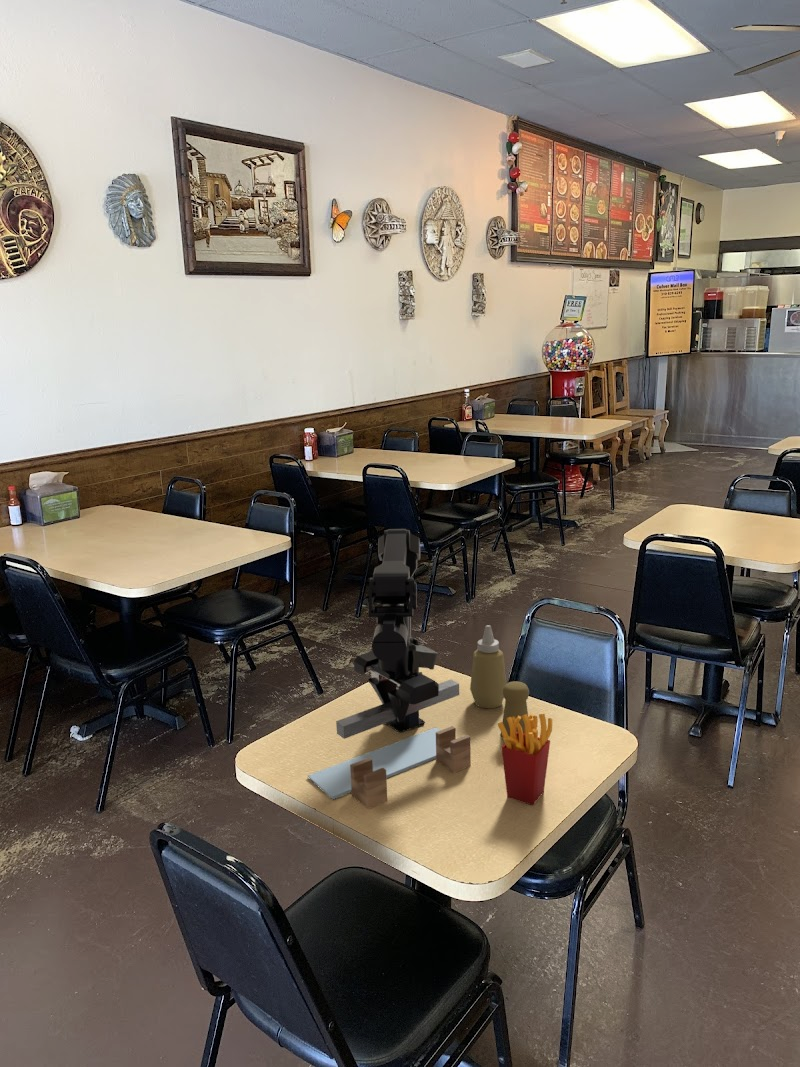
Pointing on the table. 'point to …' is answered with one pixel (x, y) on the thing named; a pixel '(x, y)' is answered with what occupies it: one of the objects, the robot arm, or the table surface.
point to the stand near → (368, 783)
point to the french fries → (525, 757)
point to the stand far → (452, 749)
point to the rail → (390, 712)
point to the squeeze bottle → (488, 672)
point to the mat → (380, 762)
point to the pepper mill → (515, 703)
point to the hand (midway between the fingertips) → (396, 718)
